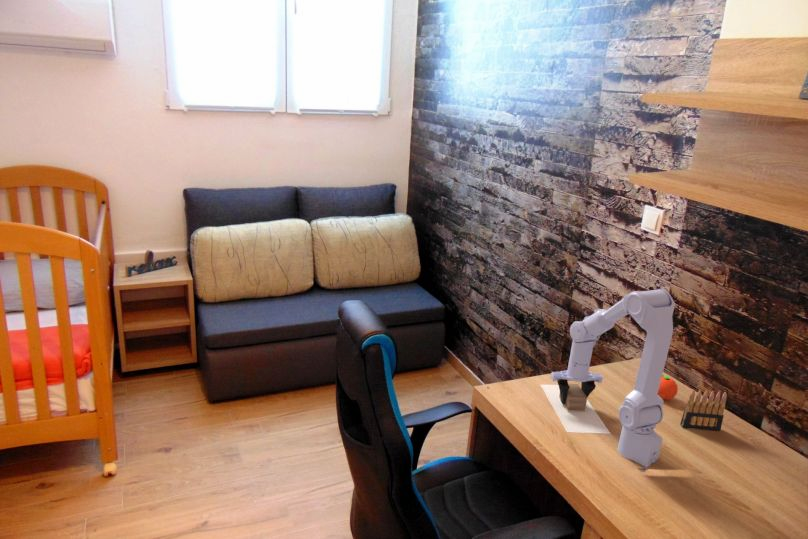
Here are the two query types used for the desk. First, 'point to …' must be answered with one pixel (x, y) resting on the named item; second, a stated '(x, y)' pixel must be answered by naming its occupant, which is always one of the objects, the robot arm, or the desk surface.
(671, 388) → the clementine
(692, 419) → the ammunition clip
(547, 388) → the plank
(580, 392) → the block
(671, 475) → the desk surface
